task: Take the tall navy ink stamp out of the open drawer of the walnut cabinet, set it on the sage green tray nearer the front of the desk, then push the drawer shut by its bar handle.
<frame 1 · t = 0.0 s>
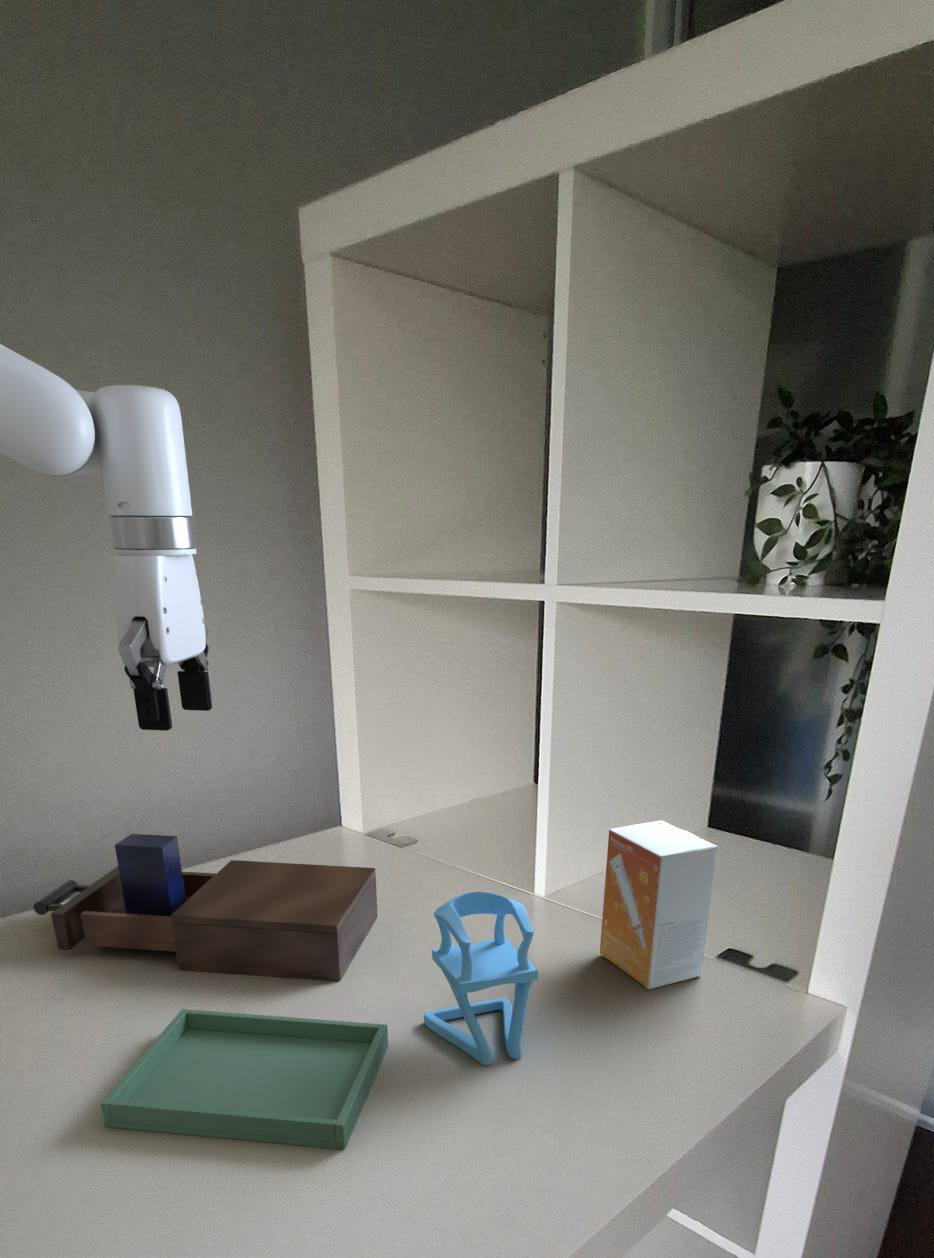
hand: (177, 719, 93), 20 cm above the table, tool pointing down, fingers open, 9 cm apart
cabinet: (284, 941, 90), on the table
chair: (483, 1039, 74), on the table
small box: (648, 967, 86), on the table
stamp: (157, 915, 91), point 2 cm above the table, touching drawer
tray: (256, 1083, 68), on the table
drawer: (138, 907, 91), point 3 cm above the table, slide at 11.0 cm, touching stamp
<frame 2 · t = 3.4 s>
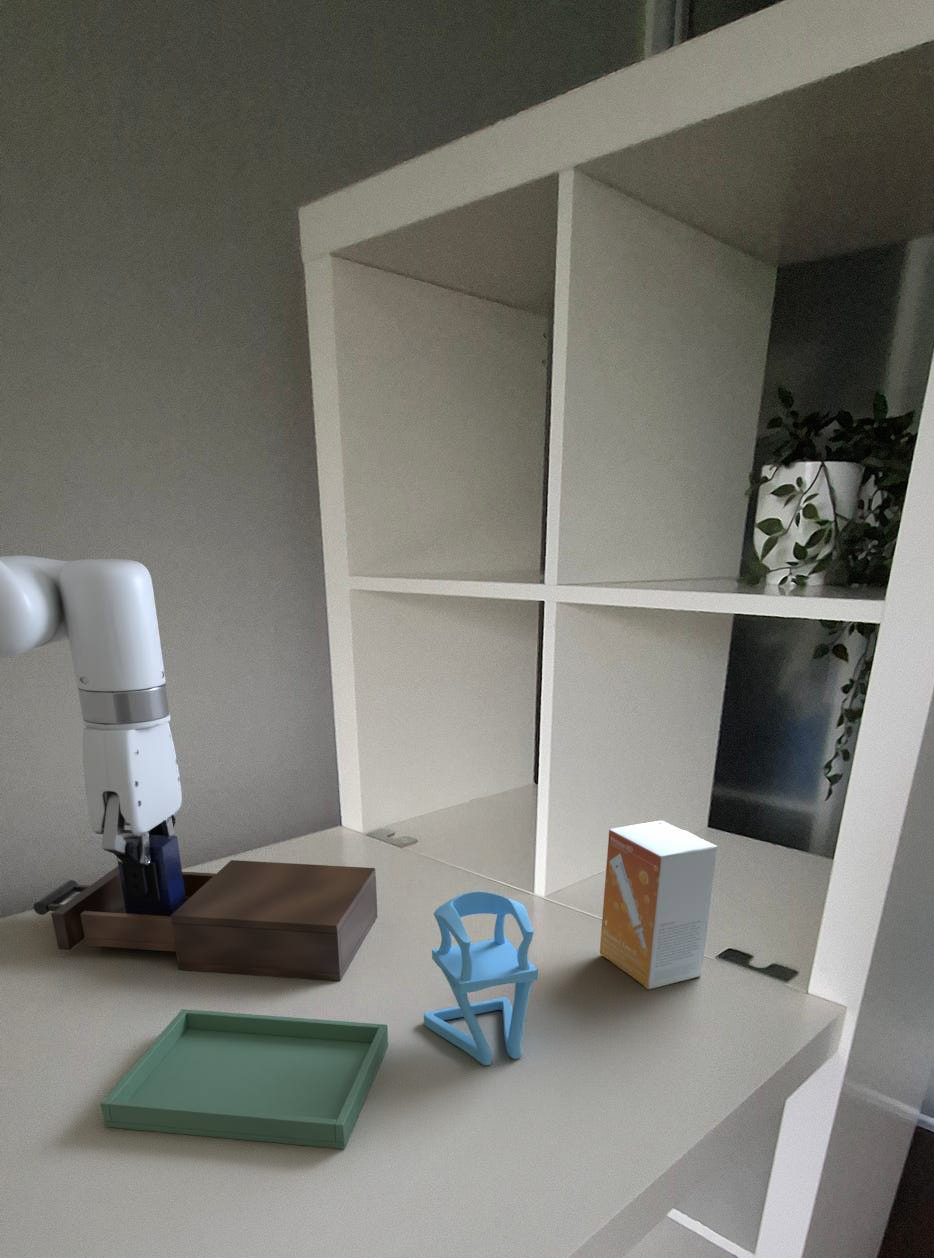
hand: (154, 890, 90), 5 cm above the table, tool pointing down, fingers closed on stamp, 3 cm apart
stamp: (157, 915, 91), point 2 cm above the table, touching drawer, gripper
everything else where it was.
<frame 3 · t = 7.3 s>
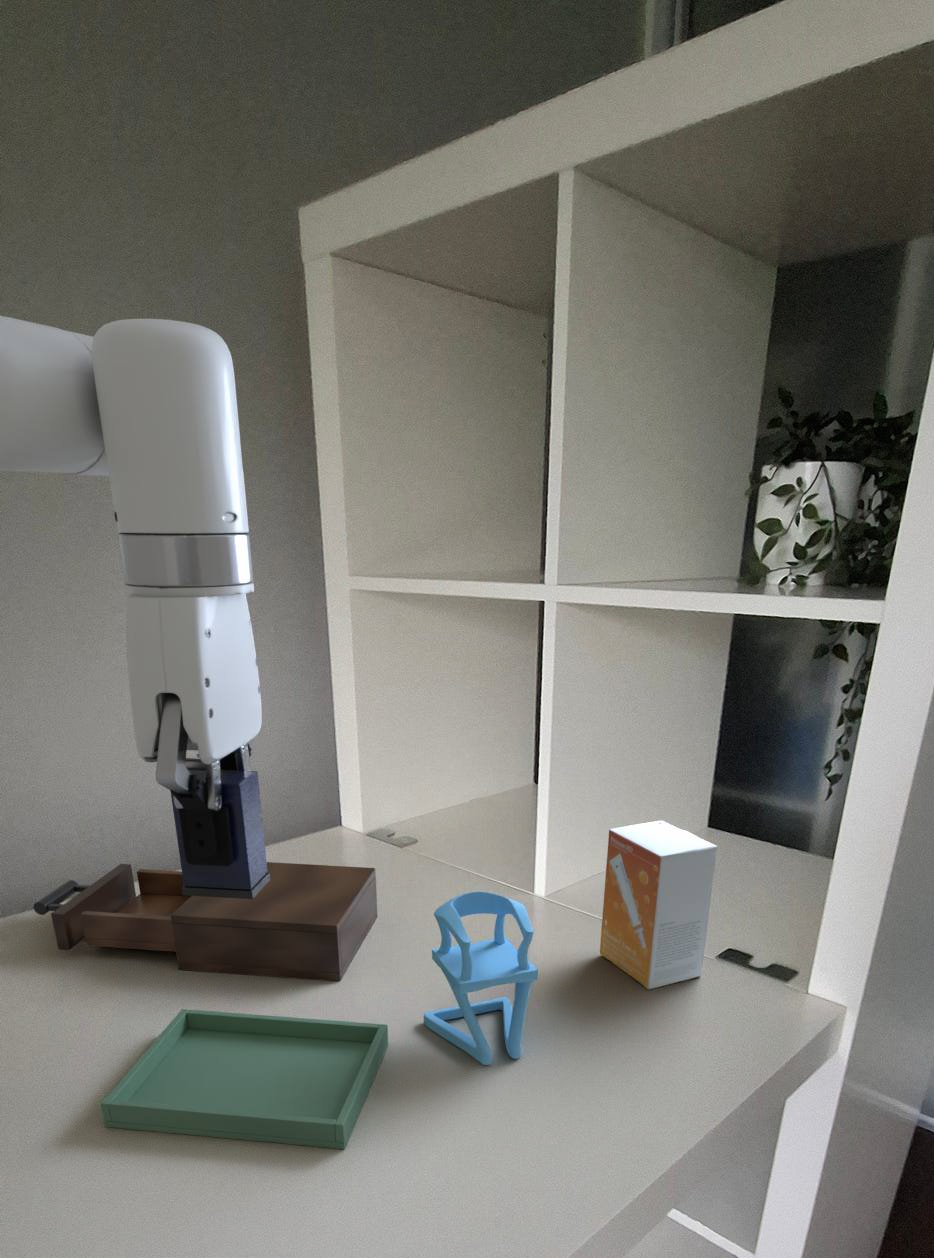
hand: (222, 850, 62), 18 cm above the table, tool pointing down, fingers closed on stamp, 3 cm apart
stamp: (227, 887, 63), point 15 cm above the table, touching gripper
drawer: (138, 907, 91), point 3 cm above the table, slide at 11.0 cm
everything else where it was.
when the fingers open (3 cm above the table, at t = 11.2 s): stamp stays where it is, resting on tray.
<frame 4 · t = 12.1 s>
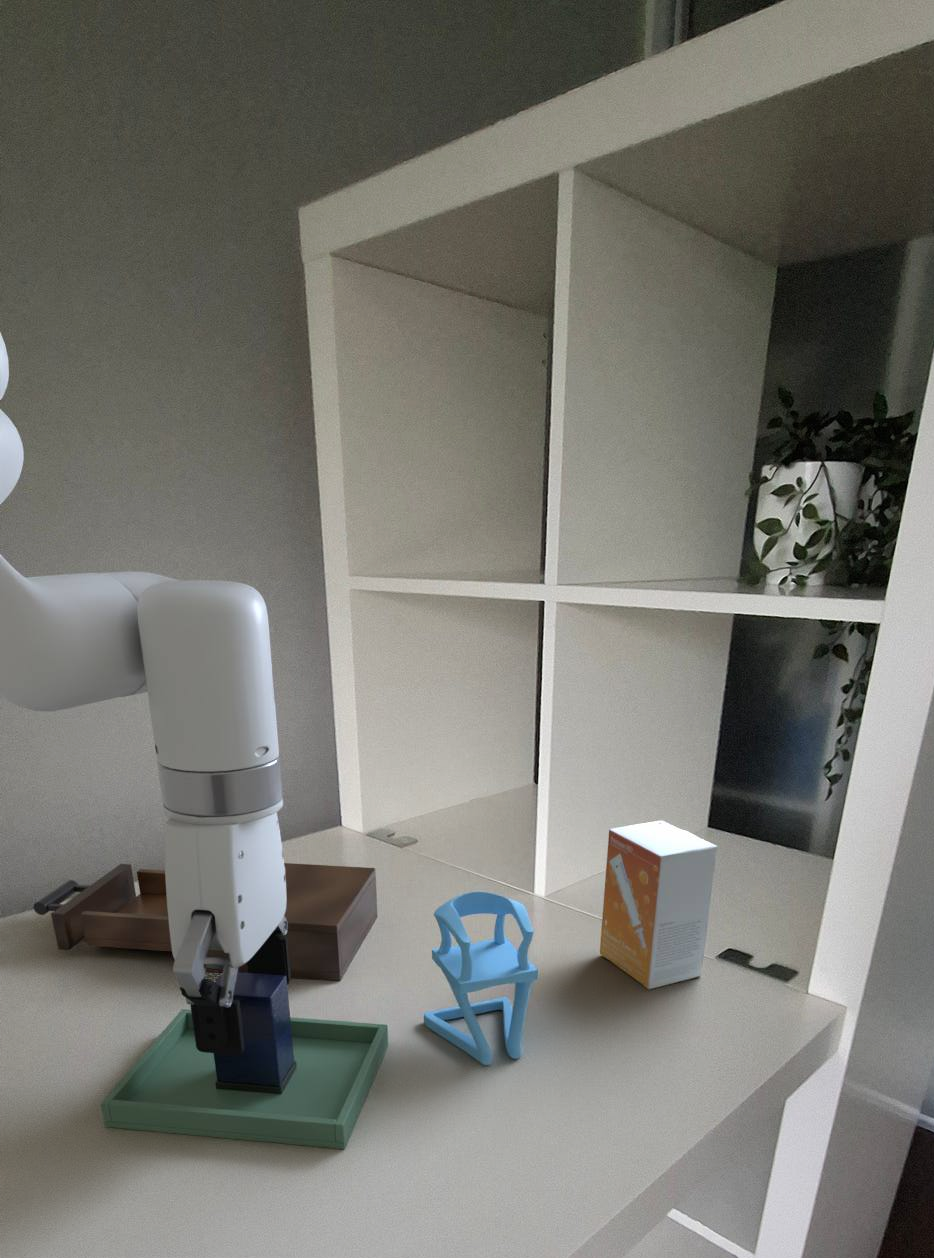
hand: (247, 1015, 66), 6 cm above the table, tool pointing down, fingers open, 9 cm apart
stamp: (257, 1078, 68), resting on tray
everything else where it was.
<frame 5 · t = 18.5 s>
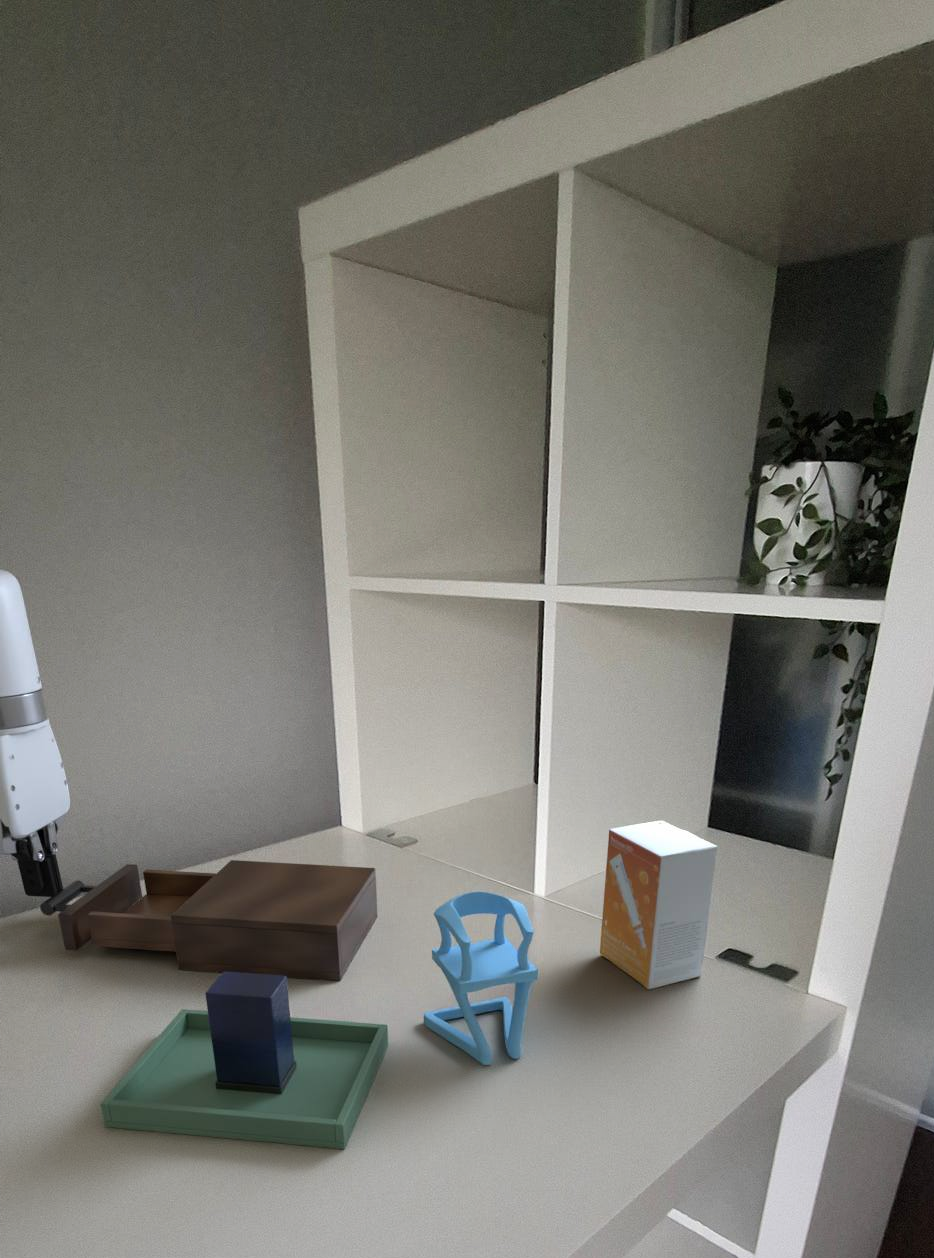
hand: (44, 893, 92), 4 cm above the table, tool pointing down, fingers closed
drawer: (145, 907, 91), point 3 cm above the table, slide at 10.3 cm, touching gripper
everything else where it was.
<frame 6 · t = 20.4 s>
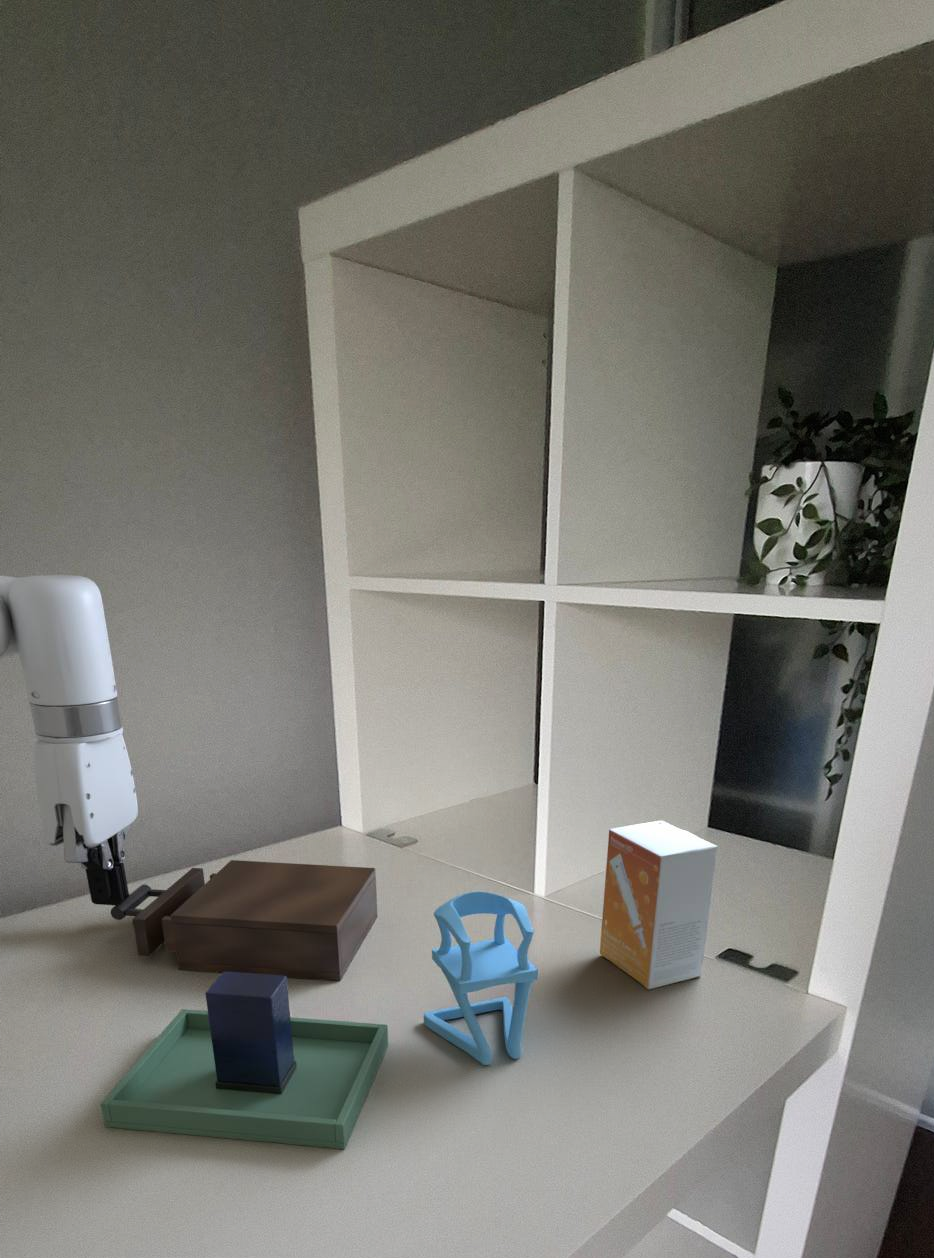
hand: (111, 901, 91), 3 cm above the table, tool pointing down, fingers closed
drawer: (215, 912, 90), point 3 cm above the table, slide at 2.9 cm, touching gripper
everything else where it was.
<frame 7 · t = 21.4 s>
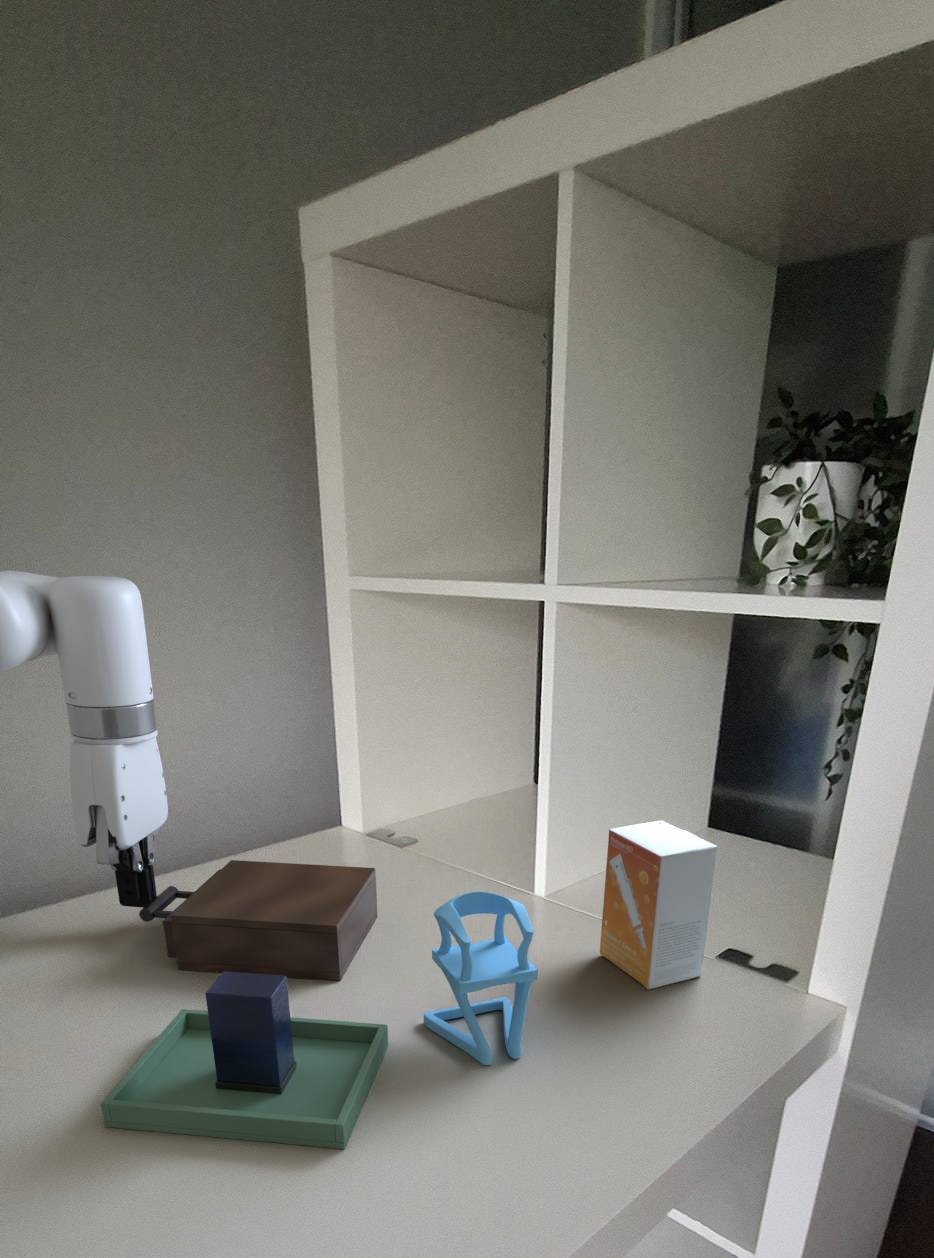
hand: (138, 903, 91), 3 cm above the table, tool pointing down, fingers closed
drawer: (243, 913, 90), point 3 cm above the table, slide at 0.0 cm, touching cabinet, gripper
everything else where it was.
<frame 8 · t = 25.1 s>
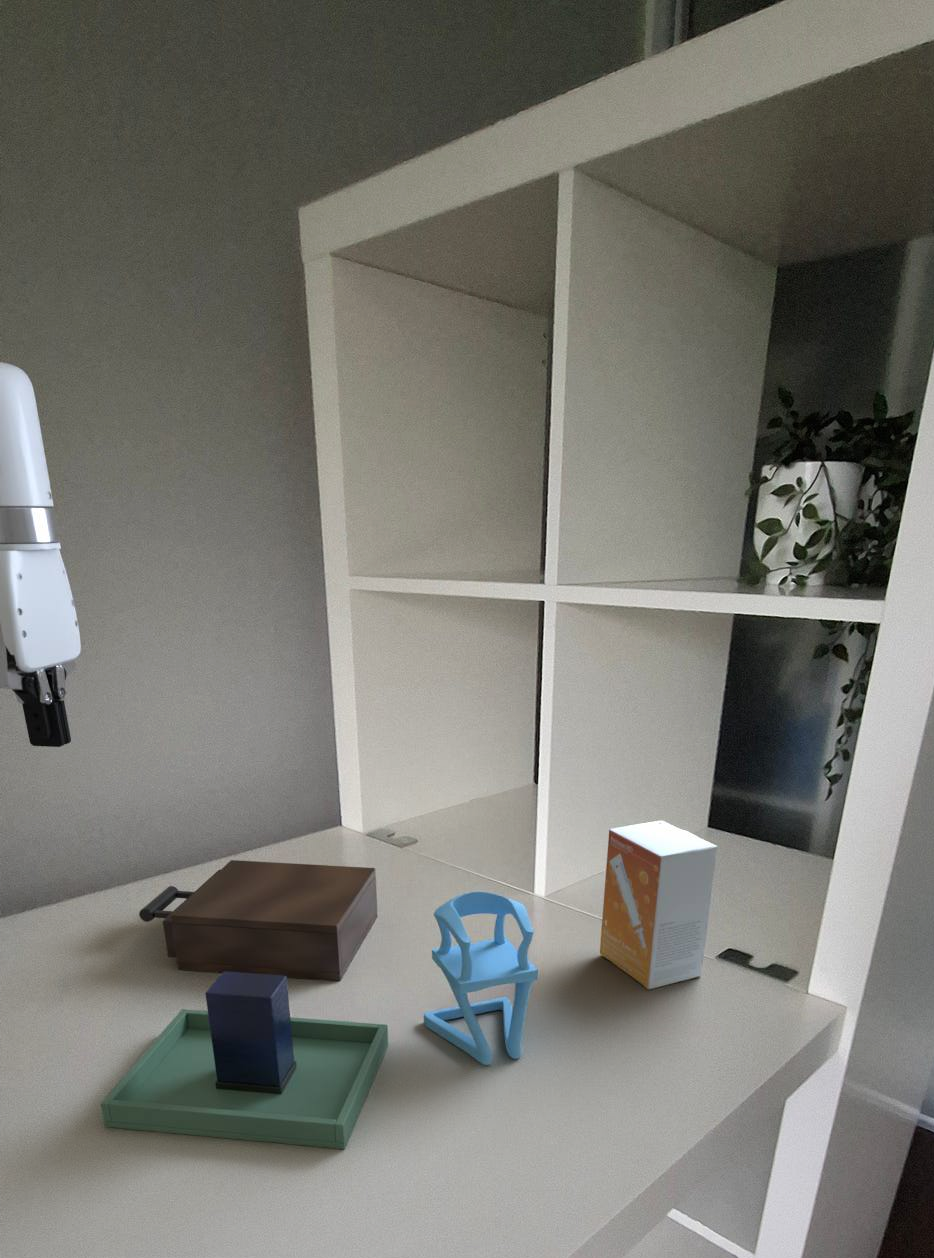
hand: (51, 744, 85), 19 cm above the table, tool pointing down, fingers closed
drawer: (243, 913, 90), point 3 cm above the table, slide at 0.0 cm, touching cabinet
everything else where it was.
at the end: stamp inside the target area in the tray (0.1 cm from its centre), point 0.5 cm above the tray's base; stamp tilted 0°; drawer slide at 0.0 cm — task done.
